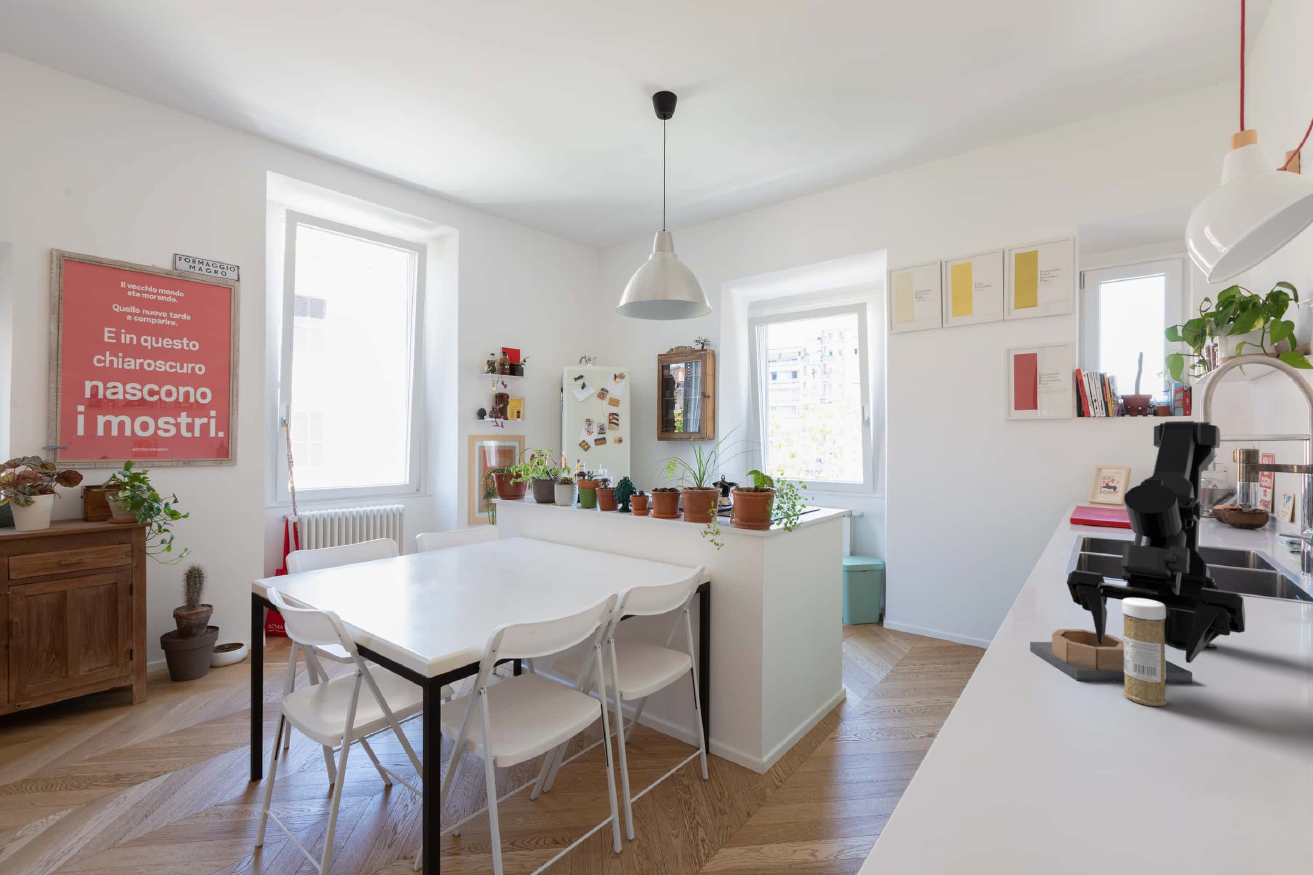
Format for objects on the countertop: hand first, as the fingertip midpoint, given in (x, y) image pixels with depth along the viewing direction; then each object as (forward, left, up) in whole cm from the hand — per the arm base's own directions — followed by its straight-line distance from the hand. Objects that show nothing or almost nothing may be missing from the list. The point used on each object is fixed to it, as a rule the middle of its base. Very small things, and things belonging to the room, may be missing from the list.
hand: (1141, 651), depth 79 cm
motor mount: (-4, -13, -7) cm, 15 cm away
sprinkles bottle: (-1, -1, -7) cm, 7 cm away
